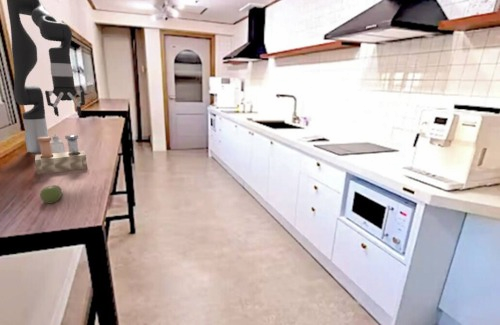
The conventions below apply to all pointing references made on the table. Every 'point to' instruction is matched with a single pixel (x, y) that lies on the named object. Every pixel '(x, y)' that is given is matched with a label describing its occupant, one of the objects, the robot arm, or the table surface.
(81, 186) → the table surface
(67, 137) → the steel plunger
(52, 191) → the green rounded lump
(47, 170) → the beige rectangular block
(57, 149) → the eye dropper bottle
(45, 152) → the terracotta plunger
